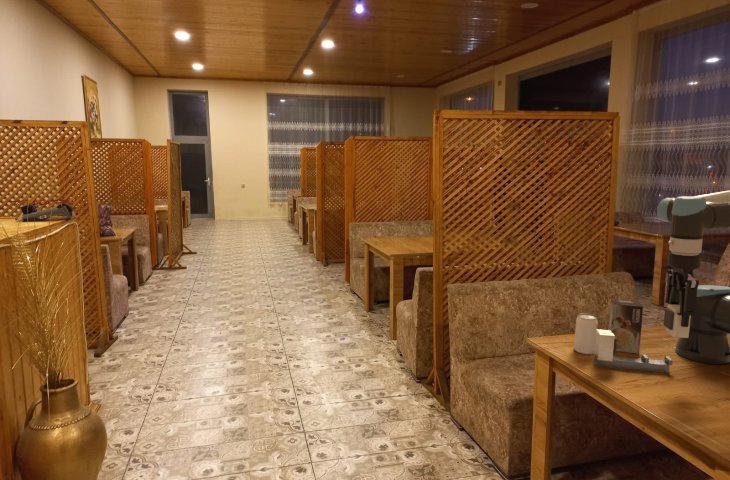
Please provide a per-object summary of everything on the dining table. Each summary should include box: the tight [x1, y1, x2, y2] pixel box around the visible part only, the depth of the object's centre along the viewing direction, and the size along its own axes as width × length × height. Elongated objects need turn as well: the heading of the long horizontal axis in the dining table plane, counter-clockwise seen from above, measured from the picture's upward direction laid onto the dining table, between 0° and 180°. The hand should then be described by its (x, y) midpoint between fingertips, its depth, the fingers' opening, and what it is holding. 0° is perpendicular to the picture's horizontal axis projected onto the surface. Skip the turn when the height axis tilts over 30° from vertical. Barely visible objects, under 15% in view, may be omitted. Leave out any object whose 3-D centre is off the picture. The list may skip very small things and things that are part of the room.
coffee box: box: [608, 299, 644, 354], centre depth 167 cm, size 9×6×16 cm
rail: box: [593, 328, 674, 374], centre depth 153 cm, size 21×5×10 cm, turn 78°
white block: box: [663, 303, 691, 339], centre depth 142 cm, size 5×5×8 cm
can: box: [573, 313, 599, 355], centre depth 165 cm, size 6×6×12 cm
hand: (677, 333), depth 143 cm, fingers closed on white block, 5 cm apart
